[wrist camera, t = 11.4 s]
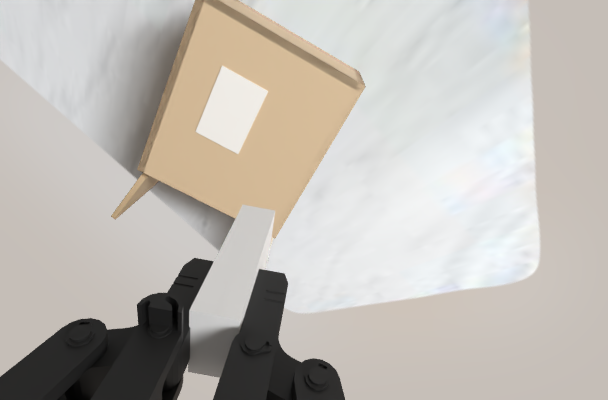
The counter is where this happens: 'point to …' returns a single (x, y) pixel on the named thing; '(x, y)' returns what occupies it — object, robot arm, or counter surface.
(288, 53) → the carton
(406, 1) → the counter surface
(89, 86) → the counter surface
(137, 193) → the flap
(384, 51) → the counter surface
